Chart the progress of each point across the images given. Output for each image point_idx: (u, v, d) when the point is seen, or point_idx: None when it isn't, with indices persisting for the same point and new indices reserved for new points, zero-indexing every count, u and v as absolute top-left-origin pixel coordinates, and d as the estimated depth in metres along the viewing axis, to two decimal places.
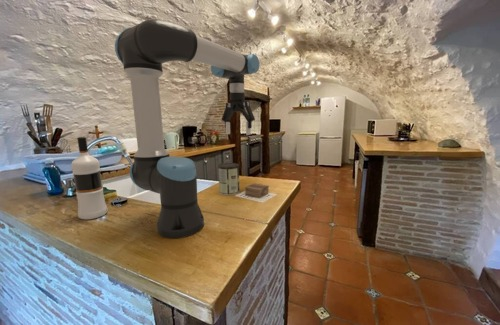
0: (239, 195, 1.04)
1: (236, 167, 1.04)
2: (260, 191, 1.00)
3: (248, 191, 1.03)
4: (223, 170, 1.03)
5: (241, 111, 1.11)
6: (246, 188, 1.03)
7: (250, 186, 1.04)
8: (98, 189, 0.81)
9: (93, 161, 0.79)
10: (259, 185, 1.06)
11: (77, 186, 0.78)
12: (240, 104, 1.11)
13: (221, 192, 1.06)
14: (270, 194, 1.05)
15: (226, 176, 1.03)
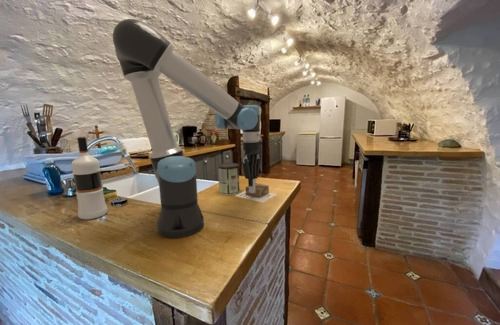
0: (239, 195, 1.04)
1: (236, 167, 1.04)
2: (261, 191, 1.00)
3: (248, 191, 1.03)
4: (223, 170, 1.03)
5: None
6: (246, 188, 1.03)
7: None
8: (98, 189, 0.81)
9: (93, 161, 0.79)
10: (259, 185, 1.06)
11: (77, 186, 0.78)
12: None
13: (221, 192, 1.06)
14: (270, 194, 1.05)
15: (226, 176, 1.03)
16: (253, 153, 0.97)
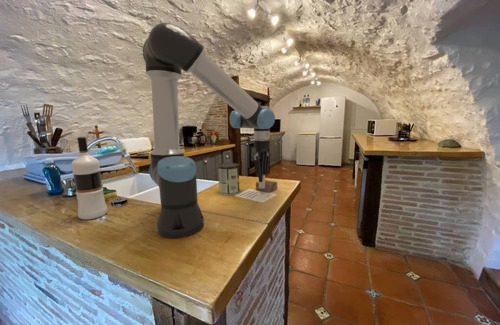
0: (239, 195, 1.04)
1: (236, 167, 1.04)
2: (270, 186, 1.07)
3: (258, 187, 1.10)
4: (223, 170, 1.03)
5: (258, 161, 1.05)
6: (257, 183, 1.10)
7: None
8: (98, 189, 0.81)
9: (93, 161, 0.79)
10: (269, 181, 1.13)
11: (77, 186, 0.78)
12: None
13: (221, 192, 1.06)
14: (270, 194, 1.05)
15: (226, 176, 1.03)
16: (263, 151, 1.04)
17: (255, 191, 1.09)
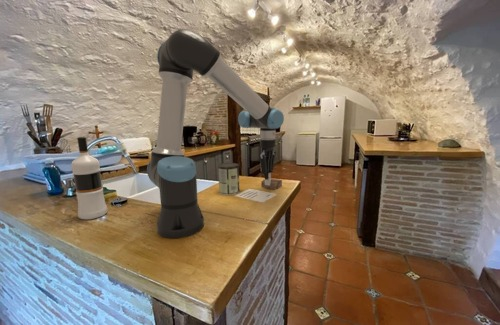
0: (239, 195, 1.04)
1: (236, 167, 1.04)
2: (275, 185, 1.12)
3: (264, 185, 1.15)
4: (223, 170, 1.03)
5: None
6: (262, 182, 1.15)
7: None
8: (98, 189, 0.81)
9: (93, 161, 0.79)
10: (273, 179, 1.18)
11: (77, 186, 0.78)
12: None
13: (221, 192, 1.06)
14: (270, 194, 1.05)
15: (226, 176, 1.03)
16: (269, 149, 1.08)
17: (255, 191, 1.09)
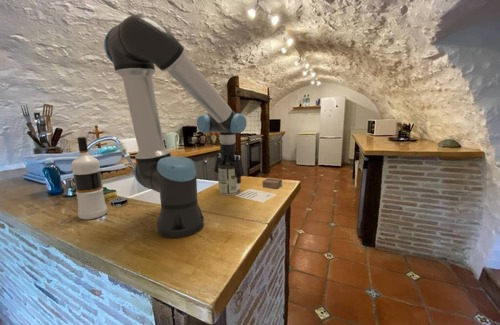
0: (239, 195, 1.04)
1: (236, 167, 1.04)
2: (277, 184, 1.13)
3: (265, 185, 1.15)
4: (223, 170, 1.03)
5: (231, 164, 1.04)
6: (263, 182, 1.15)
7: (266, 180, 1.17)
8: (98, 189, 0.81)
9: (93, 161, 0.79)
10: (274, 179, 1.19)
11: (77, 186, 0.78)
12: (231, 156, 1.04)
13: (221, 192, 1.06)
14: (270, 194, 1.05)
15: (226, 176, 1.03)
16: None
17: (255, 191, 1.09)
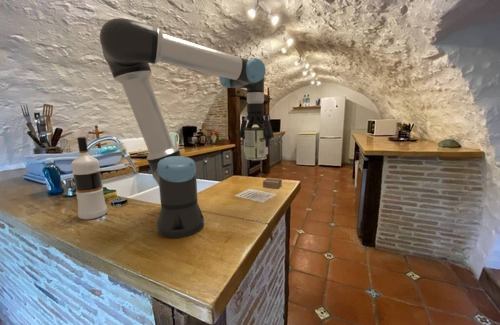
0: (239, 195, 1.04)
1: (265, 129, 0.95)
2: (278, 184, 1.13)
3: (266, 185, 1.15)
4: (251, 132, 0.94)
5: (259, 126, 0.95)
6: (264, 182, 1.15)
7: (266, 180, 1.17)
8: (98, 189, 0.81)
9: (93, 161, 0.79)
10: (274, 179, 1.19)
11: (77, 186, 0.78)
12: (259, 117, 0.95)
13: (248, 157, 0.97)
14: (270, 194, 1.05)
15: (254, 138, 0.94)
16: None
17: (255, 191, 1.09)
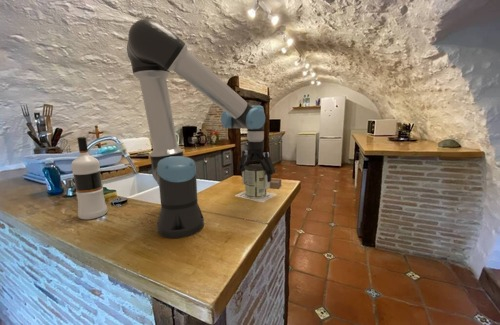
0: (239, 195, 1.04)
1: None
2: (278, 184, 1.13)
3: None
4: (251, 172, 0.97)
5: (260, 162, 0.98)
6: None
7: None
8: (98, 189, 0.81)
9: (93, 161, 0.79)
10: (273, 179, 1.19)
11: (77, 186, 0.78)
12: (259, 154, 0.98)
13: (248, 195, 1.01)
14: (270, 194, 1.05)
15: (254, 178, 0.98)
16: None
17: None
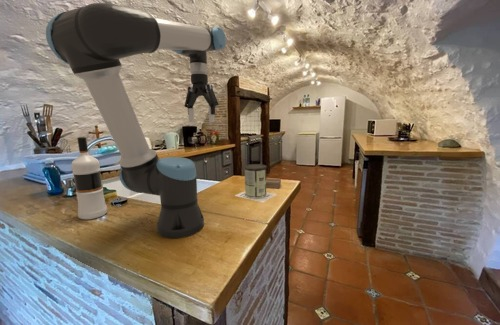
0: (239, 195, 1.04)
1: (264, 169, 0.99)
2: (279, 184, 1.14)
3: (267, 185, 1.14)
4: (251, 172, 0.97)
5: (203, 95, 0.98)
6: None
7: (267, 180, 1.16)
8: (98, 189, 0.81)
9: (93, 161, 0.79)
10: (273, 179, 1.19)
11: (77, 186, 0.78)
12: (202, 87, 0.98)
13: (248, 195, 1.01)
14: (270, 194, 1.05)
15: (254, 178, 0.98)
16: None
17: None
